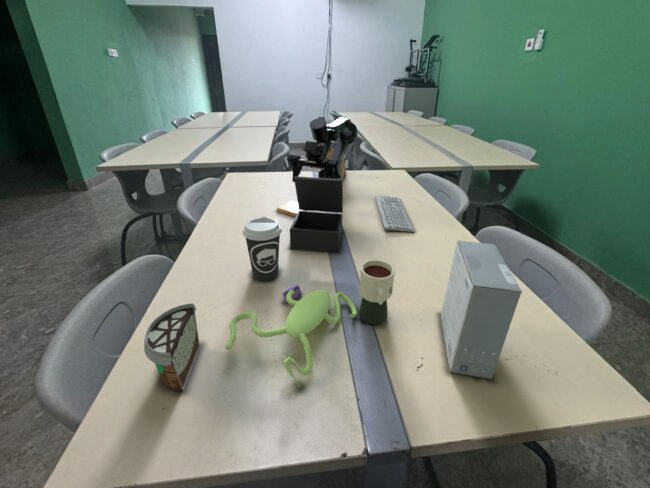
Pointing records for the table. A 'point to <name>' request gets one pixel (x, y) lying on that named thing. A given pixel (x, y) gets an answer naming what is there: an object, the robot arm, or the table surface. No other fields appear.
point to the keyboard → (393, 214)
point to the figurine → (298, 320)
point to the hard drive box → (477, 308)
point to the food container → (173, 345)
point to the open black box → (316, 231)
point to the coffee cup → (263, 246)
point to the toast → (289, 208)
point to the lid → (319, 194)
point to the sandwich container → (342, 165)
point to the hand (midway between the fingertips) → (305, 183)
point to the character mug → (375, 290)
